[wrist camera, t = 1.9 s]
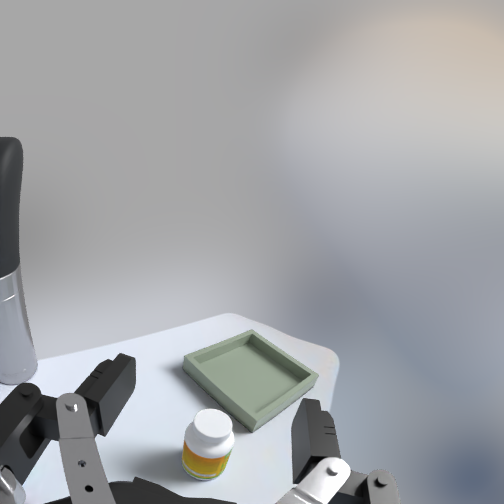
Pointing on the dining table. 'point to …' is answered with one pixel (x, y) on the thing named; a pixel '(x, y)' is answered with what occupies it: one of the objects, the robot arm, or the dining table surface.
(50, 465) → the dining table surface
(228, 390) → the tray
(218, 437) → the supplement bottle
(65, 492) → the dining table surface
